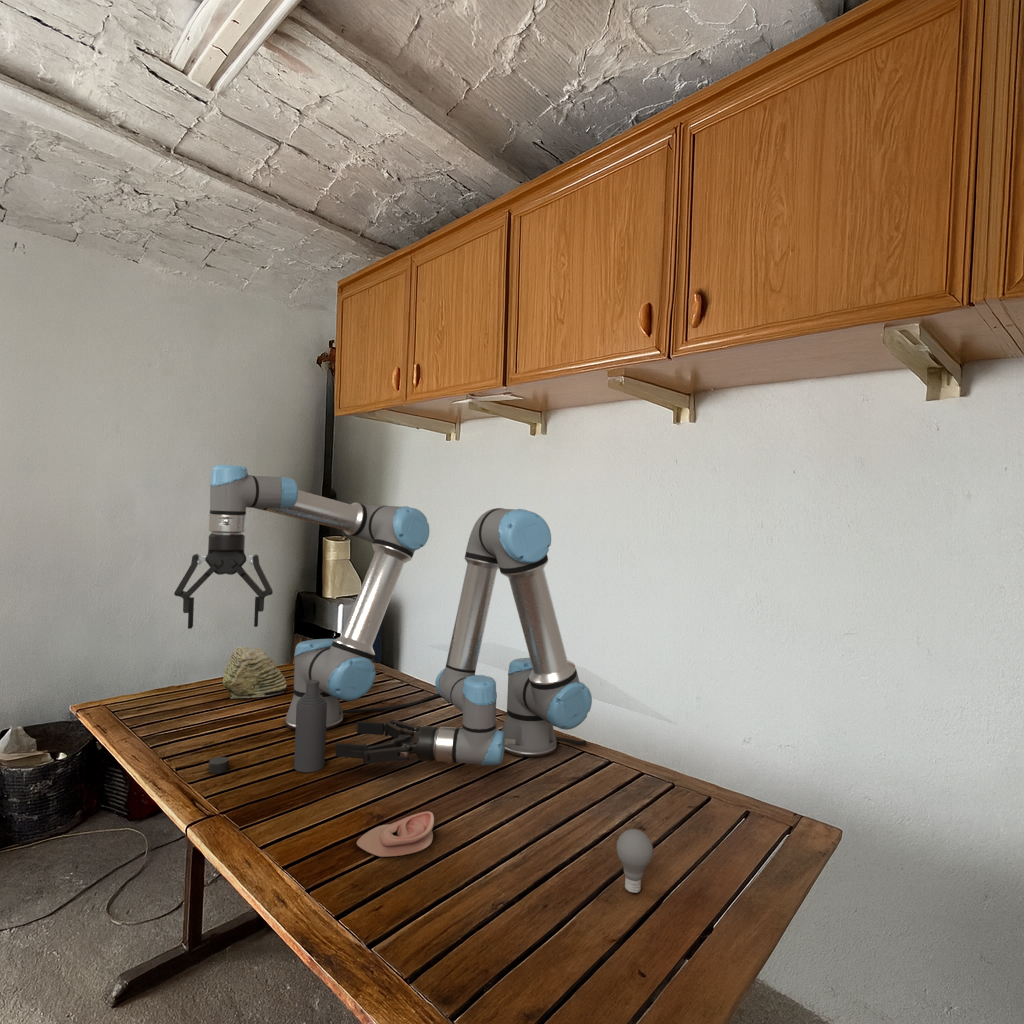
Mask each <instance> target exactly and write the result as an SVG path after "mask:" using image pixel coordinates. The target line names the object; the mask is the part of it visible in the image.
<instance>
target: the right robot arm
mask: <svg viewBox="0 0 1024 1024" xmlns="http://www.w3.org/2000/svg"><path fill="white" fill-rule="evenodd" d="M468 537H469V538H468V541H467V545H466V549H465V554H464V560H465V562H466V563H467V565H466V569H465V574H464V579H463V583H462V588H461V592H460V597H459V602H458V607H457V610H456V611H457V612H456V615H455V620H454V626H453V629H452V634H451V640H450V645H449V649H448V653H447V659H446V663H445V668H443V669H441V671H440V672H439V673H438V674H437V676H436V678H435V683H434V684H435V689H436V692H437V694H438V693H439V694H440V695H441V696H440V697H442V699H443V700H444V701H446V702H448V703H449V704H451V705H452V706H454V707H455V708H456V709H458V710H459V711H460V712H462V727H461V728H460V727H450V726H440V727H439V728H438V727H437V726H433V725H423V726H422V725H421V726H420V725H414V724H411V723H406V722H403V721H399V720H398V719H397V720H395V719H389V721H385V722H375V721H374V722H373V721H359V720H358V721H357V722H356V734H359V735H375V736H384V737H391V738H392V740H391V741H388V742H383V743H379V744H375V745H369V746H368V745H367V744H366V743H364V744H356V743H341V742H336V743H335V750H334V751H335V753H334V754H335V755H334V757H337V758H350V759H351V758H352V759H362V762H363V765H368V764H369V765H370V764H377V763H384V762H385V763H386V762H393V761H408V760H410V754H416V757H417V760H419V761H422V762H434V761H435V760H436V762H437V763H438V762H439V763H446V764H447V765H450V764H451V763H453V764H465V765H478V766H481V767H482V766H499V765H501V764H502V763H503V761H504V756H505V753H506V754H509V755H512V756H515V757H520V758H542V757H547V756H549V755H552V754H554V753H555V752H556V751H557V747H558V745H557V744H558V742H563V743H567V744H572V745H577V746H586V745H587V740H575V739H572V738H571V739H570V738H566V737H559V736H556V732H555V729H554V727H556V728H558V729H560V730H567V731H568V730H573V729H575V728H577V727H578V726H580V725H581V724H582V723H583V722H584V721H585V720H586V719H587V717H588V714H589V712H590V711H591V708H592V705H593V697H592V692H591V690H590V688H589V687H588V686H587V685H586V684H585V683H584V682H581V681H580V678H579V675H578V671H577V667H576V664H575V663H574V662H573V661H571V660H569V659H568V658H567V653H566V649H565V645H564V642H563V638H562V634H561V630H560V625H559V622H558V617H557V615H556V610H555V607H554V603H553V599H552V598H553V597H552V595H551V591H550V587H549V583H548V579H547V575H546V571H545V567H546V566H547V564H548V562H549V556H548V553H549V551H550V546H551V545H552V533H551V529H550V527H549V525H548V523H547V521H546V520H545V519H544V518H543V517H542V516H541V515H540V514H538V513H537V512H533V511H531V510H527V509H525V508H516V509H514V508H502V507H496V508H491V509H488V510H486V511H485V512H484V513H482V514H481V515H480V516H479V517H478V518H477V519H476V521H475V523H474V524H473V527H472V529H471V531H470V534H469V536H468ZM498 571H499V572H500V574H501V575H503V576H505V577H506V578H508V582H509V586H510V589H511V592H512V596H513V600H514V603H515V607H516V611H517V615H518V618H519V622H520V625H521V630H522V633H523V636H524V641H525V644H526V648H527V652H528V657H520V658H515V659H513V660H511V661H510V663H509V664H508V672H507V695H506V696H507V697H506V699H507V700H506V717H505V719H504V722H503V725H502V727H501V730H499V729H497V726H496V718H497V716H496V715H497V699H498V695H497V694H498V693H497V681H496V679H494V678H493V677H491V676H489V675H486V674H476V671H477V666H478V662H479V656H480V652H481V647H482V643H483V639H484V634H485V633H484V632H485V629H486V624H487V620H488V614H489V611H490V606H491V601H492V596H493V591H494V586H495V582H496V578H497V573H498Z"/></svg>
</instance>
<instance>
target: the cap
mask: <svg viewBox="0 0 1024 1024" xmlns="http://www.w3.org/2000/svg"><path fill="white" fill-rule="evenodd" d="M229 759H230V758H228V757H227V756H217V757H213V758H211V759H210V760H208V773H210V774H215V775H216V774H217V775H218V774H222V773H225V772H227V771H228V770H229Z"/></svg>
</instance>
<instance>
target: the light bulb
mask: <svg viewBox="0 0 1024 1024" xmlns="http://www.w3.org/2000/svg"><path fill="white" fill-rule="evenodd" d="M615 849H616V854H617V857H618V859H619V861H620V863H621V865H622V867H623V873H624V874H623V875H624V876H625V878H624V888H625V890H627V891H628V892H630V893H634V894H635V893H639V892H640V891H641V889H642V887H641V886H642V879H643V877H644V875H645V871H646V868H647V867H648V866H649V864H650V863H651V861H652V859H653V855H654V847H653V843H652V841H651V838H649V836H648V835H647V834H646V833H645V832H643V831H642V830H641V829H636V828H629V829H627V830H625V831H623V832H622V833H621V834H620V835H619V837H618V839H617V841H616V847H615Z"/></svg>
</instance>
